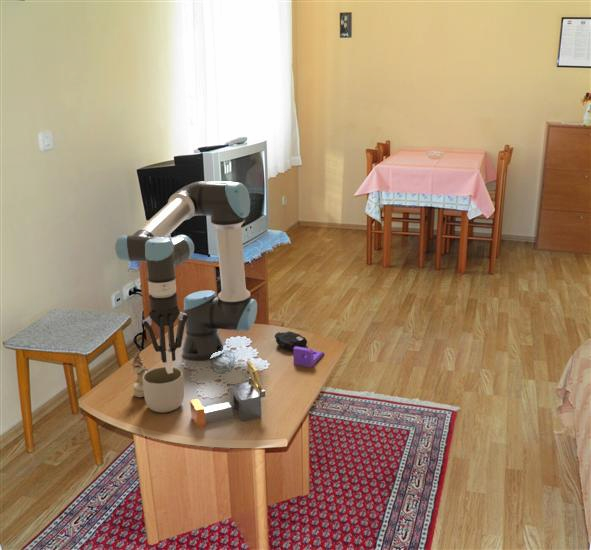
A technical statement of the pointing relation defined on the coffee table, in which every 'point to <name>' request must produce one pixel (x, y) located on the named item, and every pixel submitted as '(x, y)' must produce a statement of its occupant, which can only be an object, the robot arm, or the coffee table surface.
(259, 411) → the block
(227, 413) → the orange drawer
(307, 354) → the bracket
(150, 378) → the planter
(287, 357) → the coffee table surface
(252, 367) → the keeper
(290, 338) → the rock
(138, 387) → the figurine
